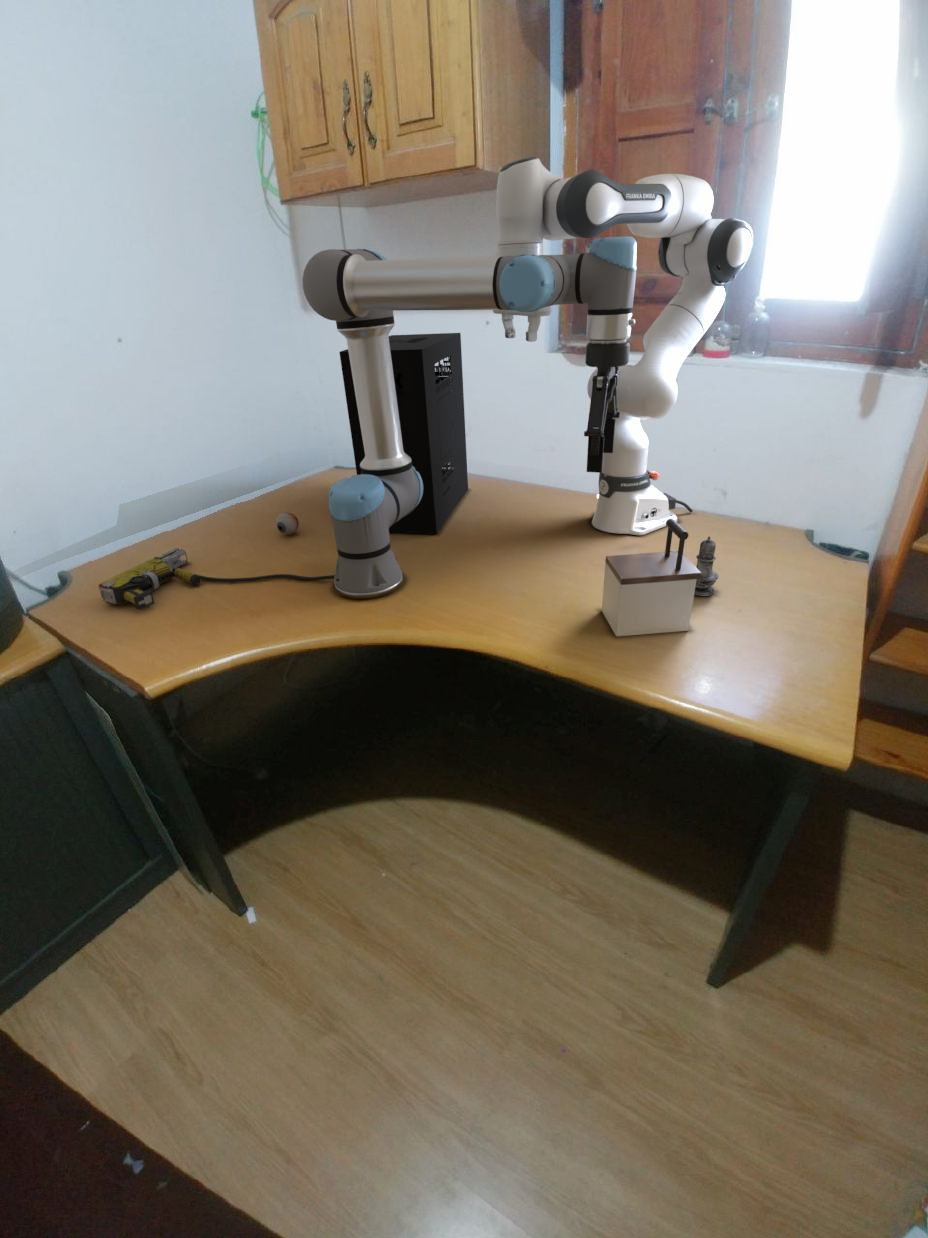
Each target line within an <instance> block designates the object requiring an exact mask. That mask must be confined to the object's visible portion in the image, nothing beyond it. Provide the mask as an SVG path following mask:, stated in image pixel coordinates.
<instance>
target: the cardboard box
mask: <svg viewBox="0 0 928 1238" xmlns="http://www.w3.org/2000/svg"><path fill="white" fill-rule="evenodd" d="M389 343H390V351H391V359H392V367H393V374H394V382H395V390H396V397H397V405H398V412H399V420H400V428H401V435H402V443H403V451H404V453H406V454H407V455H408V456H409V457H411V460H412V466H413V467H414V468H415V470H416V471H417V472H419V474H420V476H421V478H422V482H423V495H422V498H421V500H420V502H419V504H418V505H417V506H416V507H415V509H414V510H413V511H412V512H411V513H410V514H408V515H406V516H404V517H403V518H401V519H400V520H399V521H397V522H396V523H395V524H393V525H392V526H391V527H389V533H393V534H394V533H395V534H416V535H417V534H419V535H438V533H439V532H440V530H441V529H442V528H443V526H444V525H445V523H447V520H448V519H449V518H450V516H451V514H452V513H453V512H454V511H455V509H456V508H457V506H458V505H459V503H460V502H461V500H462V499H463V497H464V496H465V495H466V493H467V491H468V490H469V479H468V477H469V476H468V457H467V455H468V454H467V439H466V437H467V436H466V418H465V417H466V415H465V399H464V397H465V396H464V395H465V394H464V377H463V375H464V374H463V357H462V356H463V355H462V354H463V353H462V336H461V332H447V333H446V332H442V333H441V332H440V333H415V334H413V333H412V334H391V335H389ZM339 359H340V367H341V372H342V380H343V386H344V387H343V388H344V394H345V395H344V396H345V400H346V408H347V409H346V410H347V415H348V421H349V430H350V436H351V437H350V438H351V444H352V450H353V458H354V463H355V464H354V465H355V470H356V471H355V472H356V475H361V468H360V463H361V462H362V460H363V459H364V458H365V451H364V445H363V438H362V432H361V426H360V420H359V414H358V407H357V401H356V395H355V389H354V383H353V376H352V370H351V364H350V358H349V352H348V348H347V349H343V350H341V351H339ZM445 359H446V360H445ZM441 361H442V363H441ZM436 364H438V365H436Z"/></svg>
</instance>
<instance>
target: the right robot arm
mask: <svg viewBox="0 0 928 1238" xmlns="http://www.w3.org/2000/svg"><path fill="white" fill-rule="evenodd" d="M496 183H497V184H496V195H495V196H496V198H495V199H496V200H495V201H496V203H495V204H496V206H495V211H496V213H495V215H496V223H497V227H498V236H497V240H496V241H497V242H496V253H495V254H494V256H493V257H496V256H500V257H505V256H520V255H527V254H529V255H531V254H533V255H544V240H547V241H551V242H552V241H563V240H571V239H592V238H593V239H594V238H596V237H597V236H599V235H601V234H603V233H604V232H605V231H607V230H609V229H610V228H611V227H613V226H616V225H617V226H618V225H627V228H628V229H629V231H630V232H631V234H632V235H633V236H636V237H642V238H647V239H660V240H659V245H658V263H659V266H660V269H661V270H662V271H663V272H664V273H666V274H667V275H670V276H673V277H678V278H679V277H683V280H682V284H681V286H680V288H679V290H678V291H677V293H676V294H675V295H674V296H673V298H671V300H670V301H669V302H668V303H667V304H666V306H665V307H664V309H663V310H662V311H661V312H660V314H659V315H658V316H657V318H656V319H655V320H654V321H653V322H652V324H651V325H650V326H649V328H648V329H647V330H646V332H645V334H644V335H643V340H642V341H643V348H644V352H643V354H642V356H641V358H640V360H638V362H637V363H635V364H634V365H633V364H626V365H624V366H620V367H619V370H618V388H617V408H618V411H617V412H620V416H619V418H613V419H615V432H614V446H613V453H603V465H602V473H599V474H598V492H599V493H598V494H596V499H597V502H596V507H595V511H594V514H593V517H592V520H591V525H592V526H593V527H594V528H595V529H597V530H599V531H601V532H605V533H611V534H623V535H625V534H626V535H632V536H633V535H634V536H645V535H646V534H650V533H652V532H654V531H657V530H660V529H662V528H665V527H667V526H666V521H667V520H668V519H674V520H675V521H676V522H677V523H678V516H677V515H676V514H675V513H674V512H672V511H670V510H675V509H676V504H678V505H681V506H683V507H684V508H686V510H687V511H688V512H689V513H692V512H693V511H694V510H693V509H692V508H691V507H690V506H689V504H687V503H685V502H684V501H682V500H678V499H677V498H675V497H674V496H671V495H670V494H669V493H666V492H664V493H663V492H661V491H660V490H659V489H658V488H656V487H655V486H654V485H652V483H651V480H653V481H658V479H659V478H660V473H659V472H657V471H654V470H651V471H649V470H648V469H647V466H648V458H649V457H648V455H649V446H650V441H649V437H648V435H647V434H646V432H645V431H644V429H643V427H642V424H641V420H656V419H657V420H658V419H662V418H664V417H666V416H667V415H669V413H670V412H671V411H672V410H673V408H674V406H675V405H676V402H677V399H678V395H679V389H678V388H679V387H678V383H677V377H678V374H679V371H680V369H681V368H682V367H681V366H682V365H683V363H684V362H685V360H686V359H687V358H688V356H689V355H690V353H691V352H692V351H693V350H694V348H695V347H696V345H697V344H698V343H699V341H700V340H701V339H702V338H703V336H704V335H705V334H706V333H707V331H708V329H710V327H711V326H712V324H713V323H714V321H715V320H716V317H717V316H718V314H719V312H720V310H721V309H722V306H723V304H724V302H725V299H726V291H725V288H724V287H725V286H727V285H729V284H731V283H732V282H733V281H735V279H736V278H737V276H738V274H739V273H740V272H741V271H742V270H743V268H744V267H745V265H746V264H747V262H748V260H749V258H750V256H751V254H752V251H753V246H754V233H753V229H752V227H751V226H750V224H749V223H747V222H746V221H745V220H741V219H738V218H733V217H730V218H726V219H725V218H712V215H711V214H712V213H711V212H712V210H713V207H714V193H713V189H712V188H711V185H710V184H709V182H707V181H706V180H705V179H703V178H700V177H697V176H693V175H689V174H683V173H661V174H654V175H648V176H646V177H643V178H640V179H638V180H636V182H635V183H620V182H616V181H615V180H613V179H611V178H610V177H608V176H607V175H606V174H604V173H602V172H601V171H598V170H591V169H590V170H586V171H583V172H581V173H577V174H575V175H574V176H569V177H566V178H563V179H562V178H561V177H559V176H557V175H555V174H554V173H552V172H551V171H550V170H548V169H547V168H546V167H545V166H544V164H543V163H542V161H541V159H540V158H539V157H536V156H529V157H525V158H521V159H518V160H515V161H511V162H509V163H506V164H504V165H503V166H502V167H501V169H500V170H499V172H498V176H497V182H496ZM552 311H553V305H552V306H548V307H544V308H540V309H538V310H536V311H533V312H519V311H516V310H492V312H493V314H496V315H501V323H502V325H503V329H504V337H505V338H506V339H514V338H516V328H515V327H514V321H513V320H514V316H522V317H527V323H528V327H527V331H525V341H526V342H530V343H531V342H532V343H533V342H537V340H538V331H539V328H540V325H541V321H542V320H541V318H542V317H548V316H550V315H551V314H552ZM597 371H598V368H597V367H596V368H595V369H594V371H593V372H591V374H590V376H589V378H588V380H587V388H586V389H587V395H588V398H589V399H590V400H591V395H592V385H593V381H592V379H593V376H596V375H597Z"/></svg>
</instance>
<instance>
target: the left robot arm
mask: <svg viewBox="0 0 928 1238" xmlns="http://www.w3.org/2000/svg"><path fill="white" fill-rule="evenodd" d="M637 249H638V242H637V240H636V239H635V238H634V237H633V236H630V235H629V236H609V237H599V238H593V240H592V241H591V243H590V248H589V251H588V252H585V253H584V252H583V253H572V254H571V253H569V254H543V255H533V254H531V255H529V254H527V255H520V256H505V257H500V256H496V257H494V256H470V257H469V256H468V257H442V258H441V257H439V258H417V259H416V258H414V259H413V258H410V259H409V258H408V259H407V258H406V259H388V258H386V257H385V256H384V255H383V254H381V253H380V252H377V251H375V250H370V249H367V248H356V249H354V248H352V249H349V248H348V249H336V248H331V249H330V248H329V249H325V250H321V251H319V252H317V253H315V254H314V255H313V256H312V257H311V258H309V260H308V261H307V263H306V265H305V266H304V267H305V268H304V270H303V273H302V289H303V294H304V296H305V299H306V301H307V303H308V305H309V306H310V307H311V309H312V310H313V311H314V312H315V313H316V314H317V315H319V316H321V317H322V318H323V319H326V320H329V321H334V322H335V324H336V330H337V331H338V333H340V334H341V336H343V337H344V338H345V340H346V345H347V349H348V352H349V358H350V364H351V370H352V376H353V383H354V389H355V395H356V401H357V407H358V414H359V420H360V426H361V432H362V438H363V445H364V451H365V458H364V459H363V460H362V462H361V463H360V468H361V475H357V474H355V475H351V476H350V477H344V478H341V479H340V480H338V481H336V482H335V483H334V484H333V485H332V486H331V487H330V489H329V491H328V511H329V513H330V516H331V517H330V518H331V522H332V523H331V524H332V529H333V533H334V540H335V547H336V551H337V559H336V566H335V570H334V571H335V572H334V574H332V575H331V574H330V575H320V576H303V575H296V574H288V573H287V574H286V573H283V574H282V573H279V574H278V573H277V574H276V573H275V574H269V575H268V574H267V575H259V576H253V577H236V578H235V577H234V578H230V577H228V578H227V577H226V578H225V577H211V576H205V575H200V574H198V575H199V576H200V578H201V580H203V581H209V582H219V583H237V582H240V583H241V582H254V581H255V582H256V581H261V580H270V579H294V580H299V581H300V580H301V581H314V582H315V581H323V580H333V583H334V589H335V592H336V593H337V594H339V595H340V596H342V597H345V598H347V599H352V600H369V599H370V600H371V599H376V598H377V599H378V598H381V597H384V596H387V595H389V594H392V593H393V592H396V591H397V590H398V589H399V588H400V587H401V586H402V585H403V582H404V577H403V572H402V569H401V567H400V565H399V563H398V558H397V556H395V554H394V552H393V550H392V545H391V537H390V532H389V527H391V526H392V525H393V524H395V523H396V522H397V521H399V520H400V519H401V518H403V517H404V516H406V515H408V514H410V513H411V512H412V511H413V510H414V509H415V507H416V506H417V505H418V504H419V502H420V500H421V498H422V495H423V482H422V478H421V476H420V474H419V472H417V471H416V470H415V468H414V467H413V466H412V460H411V457H409V456H408V455H407V454H406V453H404V451H403V443H402V435H401V428H400V420H399V412H398V405H397V397H396V390H395V382H394V374H393V367H392V359H391V351H390V343H389V336H390V333H391V331H392V329H394V326H395V316H394V311H493V310H516V311H519V312H533V311H536V310H538V309H540V308H544V307H548V306H552V307H553V306H559V305H576V304H579V305H584V304H587V308H588V309H587V314H586V315H587V317H586V333H585V334H586V336H585V337H586V340H588V341H589V342H587V344H586V346H585V360H584V361H585V365H586V366H587V367H590V368H596V369H597V368H598V371H597V375H596V376H593V379H592V381H593V385H592V395H591V399H590V403H589V410H588V411H589V412H588V419H587V427H586V430H585V431H583V436H584V437H588V438H587V456H586V457H587V458H586V473H602V465H603V453H613V446H614V432H615V419H613V418H619V416H620V412H617V411H618V408H617V388H618V370H619V367H620V366H624V365H628V363H629V361H630V351H631V350H630V349H631V343H630V342H629V341H627V340H628V339H629V338H630V337H631V332H632V327H631V326H635V325H636V319H635V318H632V317H633V310H634V309H633V308H634V299H635V298H634V297H635V289H636V279H637V270H638V268H637V255H638V254H637V253H638V252H637V251H638V250H637ZM174 570H175V568H174V569H173V570H172V571H174Z"/></svg>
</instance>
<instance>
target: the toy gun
mask: <svg viewBox="0 0 928 1238" xmlns="http://www.w3.org/2000/svg"><path fill="white" fill-rule="evenodd" d="M183 556H185V560H184V559H181V558H182V557H183ZM188 562H189V560H188V554H187V551H186V549H183V548H181V549H180V548H179V547H175V548H174V549H172V550H169V551H168V552H165V553H163V554H161V555H159V556H155V557H152V558H151V559H148V560H146V561H145V562H142V563H140V564H138V565H136V566H134V567H132V568H130V569H128V570H125V571H123V572H121V573H119V574H117V575H115V576H113V577H111V578H108V579H106V580H104V581H102V582H100V583H99V584H98V589H99V592H100V596H101V599H102V601H103V602H105V604H106V605H110V606H111V605H114V604H115V605H121V604H126V603H132V604H134V605H135V609H136V611H141V610H144V609H145V608H147V607H149V606H153V605H154V604H155V603H156V602H155V599H154V594H153V592H154V591H156V590H158V589H159V588H160V584H164V583H166V582H168V581H171V580H172V579H173V578H176V579H179V580H182V581H183V582H186V583H188V584H191V585H192V586H198V585H199V584H201V582H202V579H201V578H200V576H201V575H200V574H196V573H193V572H190V571H187V570H185V569H183V568H181V566H183V565H185V564H188ZM174 568H175V570H174V571H172V570H173V569H174ZM199 575H200V576H199Z"/></svg>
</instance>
